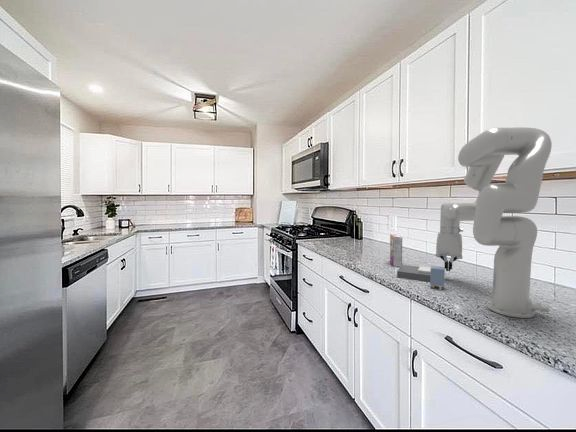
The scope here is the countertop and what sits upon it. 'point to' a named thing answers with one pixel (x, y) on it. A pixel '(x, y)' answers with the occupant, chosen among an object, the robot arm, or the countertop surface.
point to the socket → (412, 273)
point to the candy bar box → (396, 250)
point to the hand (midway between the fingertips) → (448, 270)
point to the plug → (437, 276)
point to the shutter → (425, 269)
